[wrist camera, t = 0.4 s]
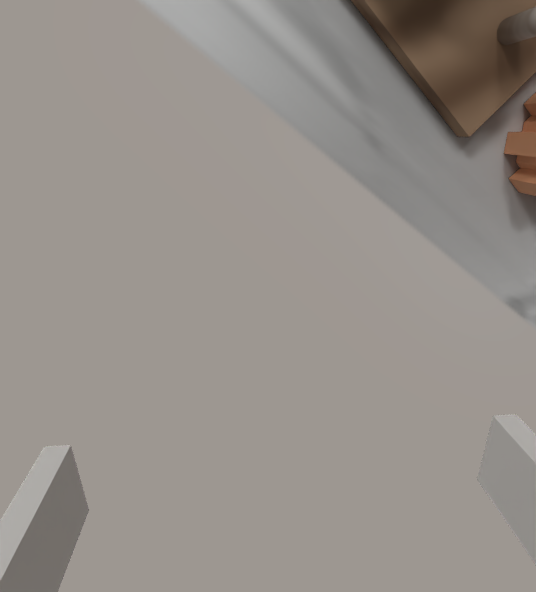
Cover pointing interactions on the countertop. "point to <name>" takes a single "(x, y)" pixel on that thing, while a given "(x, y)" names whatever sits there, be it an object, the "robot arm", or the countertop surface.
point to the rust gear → (524, 151)
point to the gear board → (459, 51)
